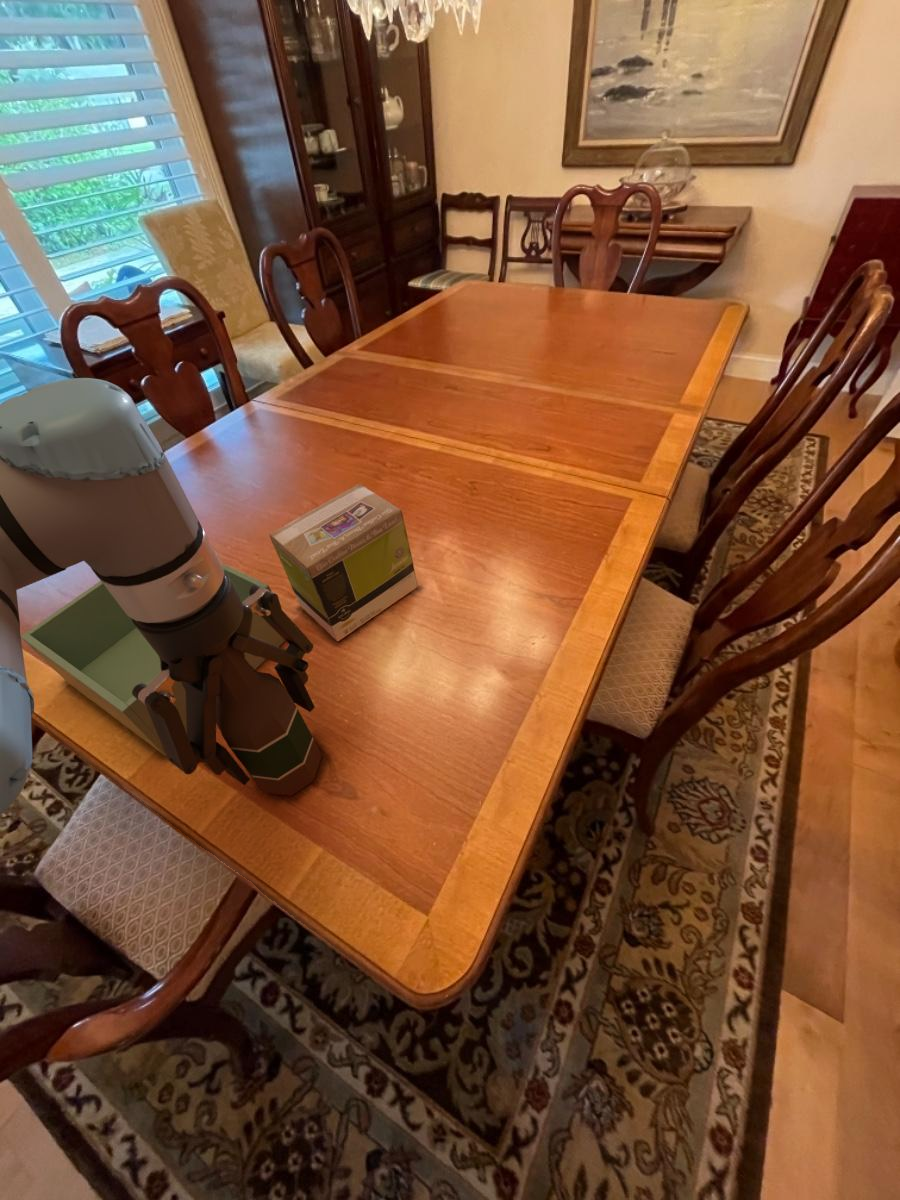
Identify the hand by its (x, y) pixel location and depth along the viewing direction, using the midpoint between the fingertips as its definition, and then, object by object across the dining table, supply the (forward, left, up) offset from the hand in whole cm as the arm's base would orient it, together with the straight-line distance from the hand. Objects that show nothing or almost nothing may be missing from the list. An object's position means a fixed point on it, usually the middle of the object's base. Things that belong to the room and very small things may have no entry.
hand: (272, 738), depth 57 cm
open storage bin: (+4, +25, -6) cm, 26 cm away
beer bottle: (0, 0, -7) cm, 7 cm away
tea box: (+25, +10, -7) cm, 28 cm away
